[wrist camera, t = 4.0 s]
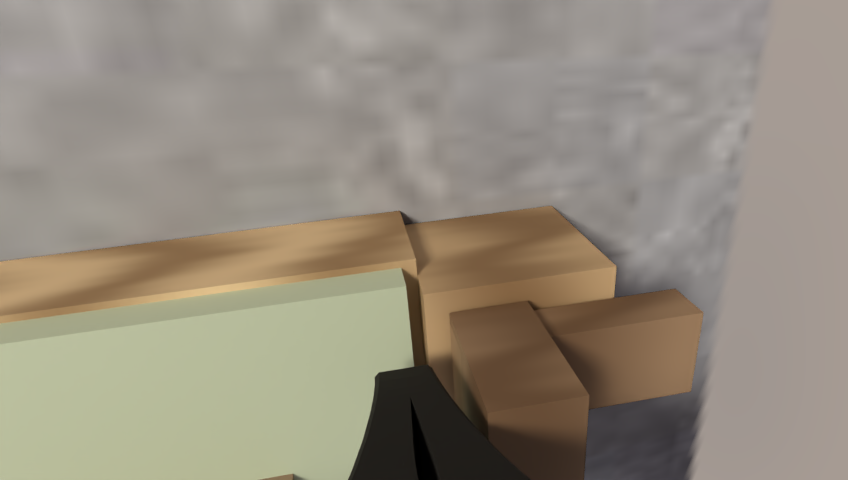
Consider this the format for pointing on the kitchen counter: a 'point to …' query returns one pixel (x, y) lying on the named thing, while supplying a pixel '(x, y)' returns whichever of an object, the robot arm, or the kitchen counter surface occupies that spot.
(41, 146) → the kitchen counter surface
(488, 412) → the l-shaped wooden piece
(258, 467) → the lid
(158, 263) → the wooden slab
